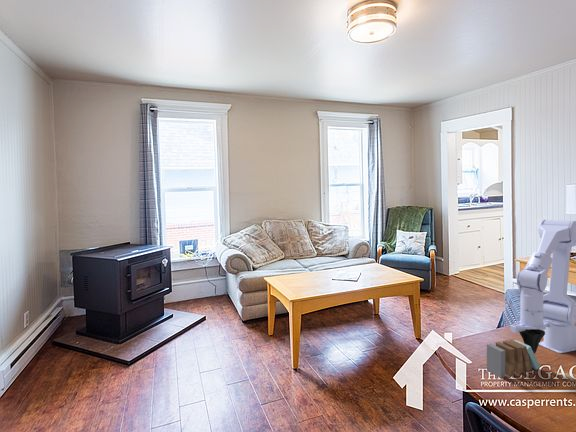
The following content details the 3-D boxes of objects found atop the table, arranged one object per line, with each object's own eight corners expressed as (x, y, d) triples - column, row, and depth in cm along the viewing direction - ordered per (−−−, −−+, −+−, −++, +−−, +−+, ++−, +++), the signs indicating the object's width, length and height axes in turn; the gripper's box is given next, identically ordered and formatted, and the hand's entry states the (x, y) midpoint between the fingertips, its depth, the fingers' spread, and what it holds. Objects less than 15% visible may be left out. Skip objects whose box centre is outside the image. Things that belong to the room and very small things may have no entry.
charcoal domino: (490, 368, 106) (491, 343, 105) (505, 377, 101) (505, 350, 100) (486, 369, 105) (486, 344, 105) (500, 378, 100) (500, 351, 100)
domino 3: (516, 362, 108) (511, 339, 107) (531, 369, 103) (526, 346, 102) (512, 364, 108) (507, 341, 107) (527, 372, 103) (522, 348, 102)
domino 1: (499, 367, 106) (499, 341, 106) (514, 375, 102) (514, 348, 101) (495, 367, 106) (495, 342, 106) (509, 376, 101) (510, 349, 101)
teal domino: (524, 359, 109) (515, 339, 108) (540, 367, 104) (530, 346, 103) (521, 362, 109) (511, 342, 107) (536, 370, 104) (526, 349, 102)
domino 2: (508, 364, 107) (507, 340, 107) (523, 372, 103) (522, 347, 102) (504, 366, 107) (503, 341, 106) (519, 374, 102) (517, 348, 101)
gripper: (525, 316, 100) (524, 361, 101) (562, 310, 103) (561, 354, 104) (504, 308, 106) (503, 351, 107) (539, 303, 110) (539, 344, 111)
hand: (531, 352), depth 106 cm, fingers closed
